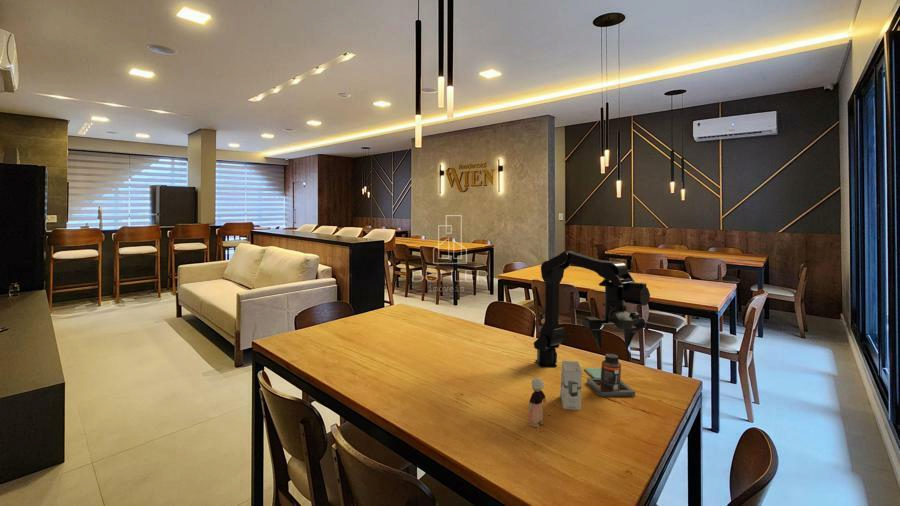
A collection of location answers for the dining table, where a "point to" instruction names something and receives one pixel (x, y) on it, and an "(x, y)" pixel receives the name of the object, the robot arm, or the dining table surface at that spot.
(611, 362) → the supplement bottle
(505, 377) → the dining table surface
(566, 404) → the ink box
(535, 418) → the grandmother figurine
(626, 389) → the grey square frame
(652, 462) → the dining table surface
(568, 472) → the dining table surface
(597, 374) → the pad
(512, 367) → the dining table surface
